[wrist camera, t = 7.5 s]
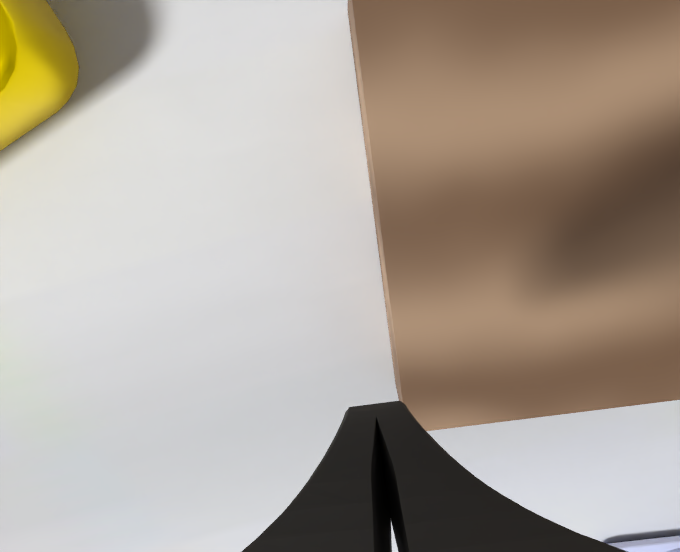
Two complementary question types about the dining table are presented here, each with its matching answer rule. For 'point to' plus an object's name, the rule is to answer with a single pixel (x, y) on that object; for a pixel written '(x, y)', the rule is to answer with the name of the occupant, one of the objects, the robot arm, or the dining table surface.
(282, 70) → the dining table surface
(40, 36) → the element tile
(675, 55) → the plate
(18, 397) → the dining table surface
